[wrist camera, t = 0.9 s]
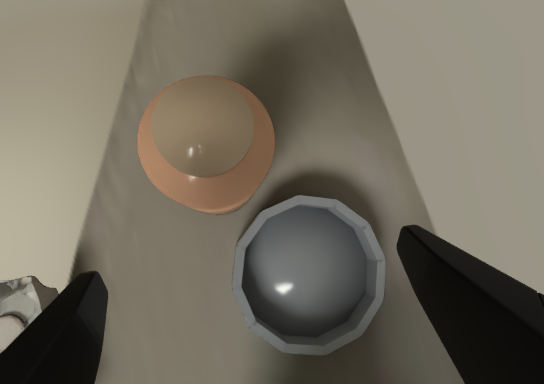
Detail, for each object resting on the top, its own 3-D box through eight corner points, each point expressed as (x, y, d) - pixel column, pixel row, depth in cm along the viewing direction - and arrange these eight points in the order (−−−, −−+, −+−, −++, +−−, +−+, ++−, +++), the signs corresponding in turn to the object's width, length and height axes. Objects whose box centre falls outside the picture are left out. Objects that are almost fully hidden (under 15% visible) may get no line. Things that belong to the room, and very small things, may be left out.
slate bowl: (391, 301, 25) (409, 310, 22) (268, 366, 23) (273, 383, 21) (335, 178, 25) (346, 173, 23) (210, 234, 24) (208, 234, 21)
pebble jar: (270, 195, 24) (307, 167, 12) (196, 228, 24) (158, 231, 12) (239, 124, 25) (244, 28, 13) (164, 154, 24) (93, 81, 12)
